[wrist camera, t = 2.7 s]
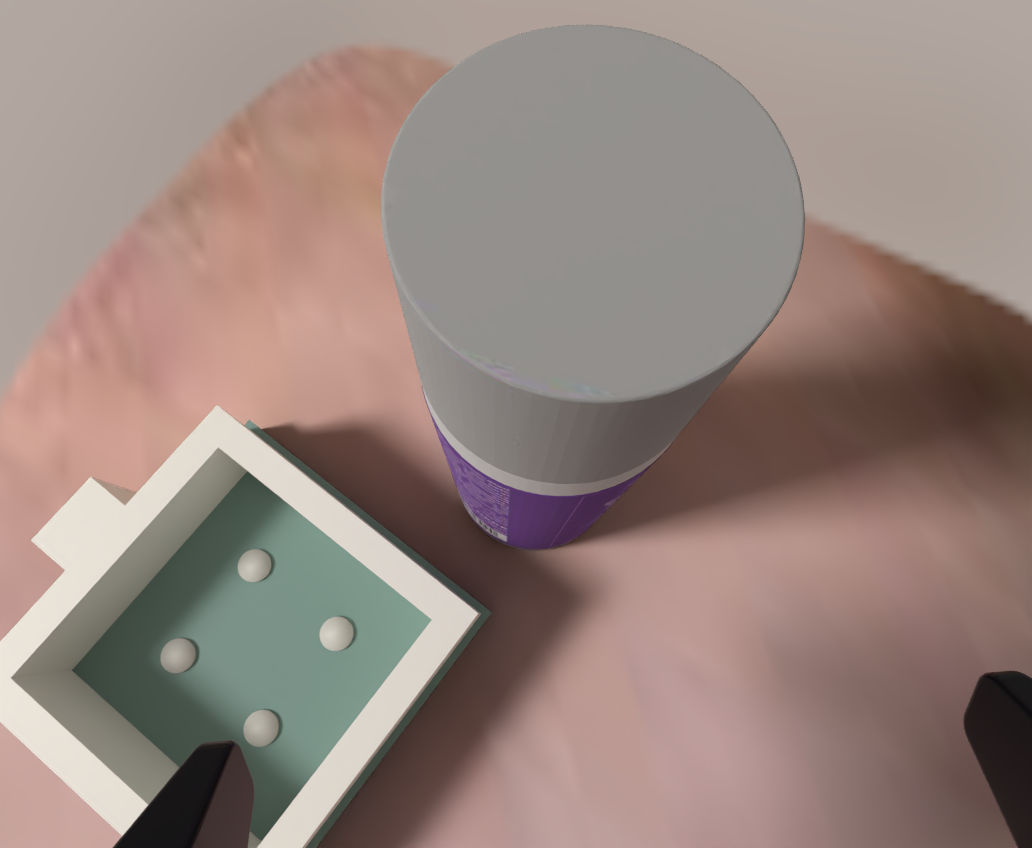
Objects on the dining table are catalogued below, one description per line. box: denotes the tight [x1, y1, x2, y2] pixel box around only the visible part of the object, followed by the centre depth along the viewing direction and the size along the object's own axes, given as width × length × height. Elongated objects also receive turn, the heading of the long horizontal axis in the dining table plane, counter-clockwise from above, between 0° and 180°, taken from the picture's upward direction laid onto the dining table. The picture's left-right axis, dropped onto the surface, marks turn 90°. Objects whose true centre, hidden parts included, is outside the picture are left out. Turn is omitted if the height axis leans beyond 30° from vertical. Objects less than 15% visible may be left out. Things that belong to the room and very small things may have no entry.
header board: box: [0, 405, 492, 848], centre depth 19 cm, size 10×9×4 cm
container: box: [381, 25, 805, 551], centre depth 15 cm, size 5×5×15 cm
